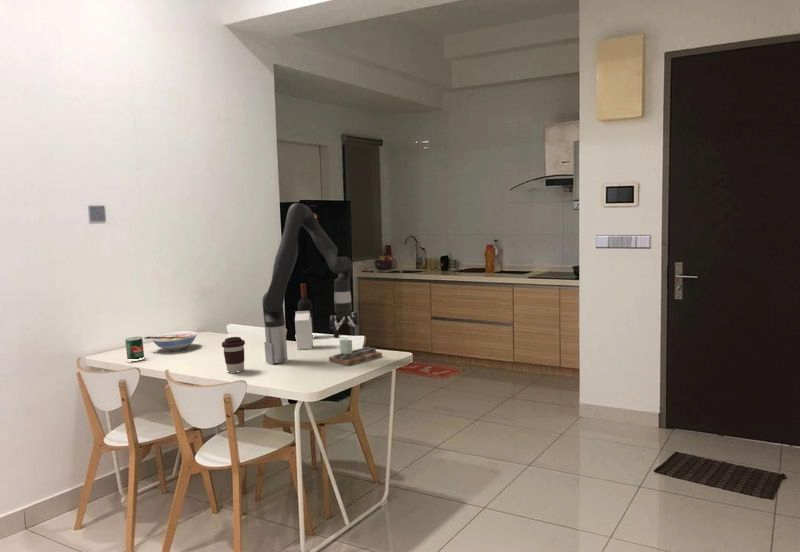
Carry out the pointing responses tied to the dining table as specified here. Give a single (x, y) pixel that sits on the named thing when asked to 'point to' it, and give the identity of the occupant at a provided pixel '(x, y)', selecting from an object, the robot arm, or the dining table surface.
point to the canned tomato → (134, 348)
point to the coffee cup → (234, 353)
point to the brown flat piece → (356, 356)
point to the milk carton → (303, 330)
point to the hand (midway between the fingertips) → (344, 336)
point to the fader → (346, 346)
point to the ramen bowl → (174, 340)
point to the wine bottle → (305, 303)
